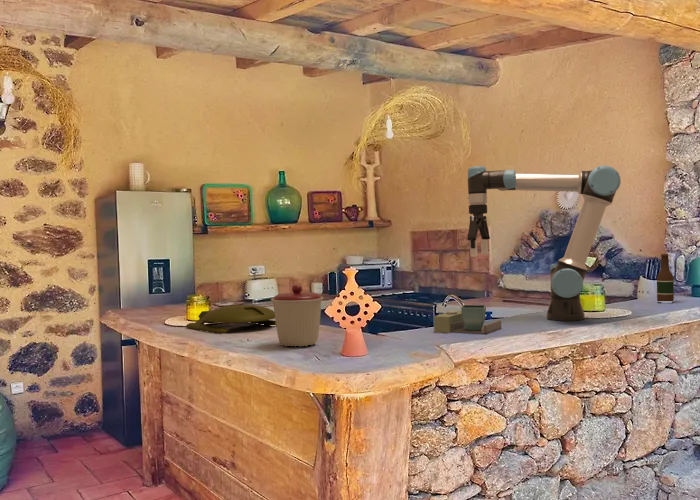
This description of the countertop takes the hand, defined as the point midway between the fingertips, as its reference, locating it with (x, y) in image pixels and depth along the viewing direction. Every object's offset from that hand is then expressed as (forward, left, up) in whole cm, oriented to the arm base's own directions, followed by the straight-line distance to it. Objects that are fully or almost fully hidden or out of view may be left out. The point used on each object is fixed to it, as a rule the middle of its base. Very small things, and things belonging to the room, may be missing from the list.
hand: (479, 255), depth 289 cm
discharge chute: (-7, +22, -28) cm, 36 cm away
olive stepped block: (+3, +22, -28) cm, 36 cm away
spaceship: (+88, +51, -28) cm, 105 cm away
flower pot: (-7, +25, -27) cm, 37 cm away
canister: (+37, +77, -28) cm, 90 cm away
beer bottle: (-58, -98, -28) cm, 117 cm away
